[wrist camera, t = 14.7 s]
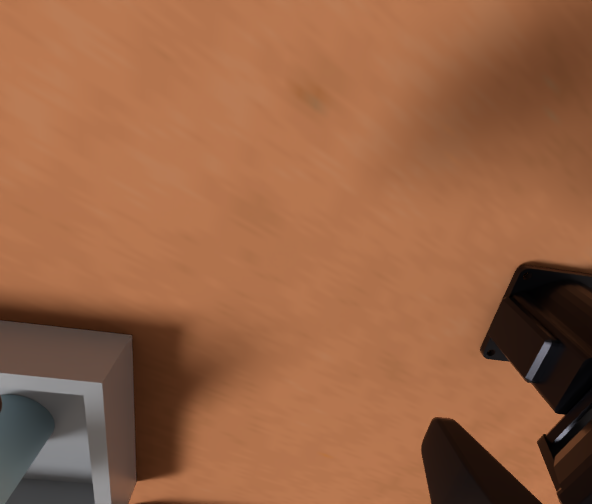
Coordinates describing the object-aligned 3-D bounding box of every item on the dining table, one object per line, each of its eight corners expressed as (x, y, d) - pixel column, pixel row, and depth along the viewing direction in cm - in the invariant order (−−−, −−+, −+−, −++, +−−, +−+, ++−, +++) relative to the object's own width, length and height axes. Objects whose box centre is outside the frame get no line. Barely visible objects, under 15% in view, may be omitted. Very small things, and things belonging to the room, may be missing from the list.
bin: (131, 335, 23) (102, 383, 19) (136, 482, 28) (114, 540, 25) (-114, 307, 21) (-197, 353, 18) (-58, 466, 27) (-112, 526, 23)
